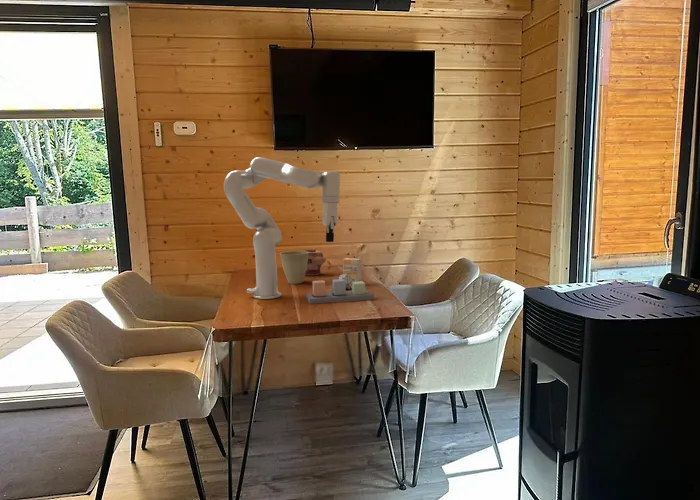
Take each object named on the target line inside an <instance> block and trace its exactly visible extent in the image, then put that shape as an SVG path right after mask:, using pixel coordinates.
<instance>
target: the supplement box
mask: <svg viewBox="0 0 700 500" xmlns="http://www.w3.org/2000/svg"><path fill="white" fill-rule="evenodd" d="M342 259H343V260H342V267H343V268H342V269H343V270H342V272H343V273H342V274H349V275H350V276H351V277H352V278H353V282H358V281H362V277H361V275H362V272H361V271H362V268H361V267H362V258H351V257H346V258H342ZM354 279H355V280H354Z"/></svg>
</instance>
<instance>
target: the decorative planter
mask: <svg viewBox="0 0 700 500" xmlns="http://www.w3.org/2000/svg"><path fill="white" fill-rule="evenodd" d="M304 251H307V252H309V254H308V263H307V268H306V273H305V276H318V275H320V274H321V267H322V265H323V264H324V263H326V260H327V259H326V257H325V256H324V255H323V252H322V251H320V250H316V249H314V250H313V249H312V250H311V249H305V250H304Z"/></svg>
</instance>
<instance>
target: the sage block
mask: <svg viewBox="0 0 700 500" xmlns="http://www.w3.org/2000/svg"><path fill="white" fill-rule="evenodd" d="M351 288H352V289H351V291H352V294H353V295H359V294H365V290H366V283H365V282H364V281H363V280H361V281H358V282H352V286H351Z"/></svg>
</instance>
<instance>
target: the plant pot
mask: <svg viewBox="0 0 700 500" xmlns="http://www.w3.org/2000/svg"><path fill="white" fill-rule="evenodd" d="M308 254H309V252H307V251H305V250H291V251H290V250H289V251H288V250H287V251H282V252H280V253H279V256H280V260H281V265H282V268H283V272H284V274H285V278H286V279H287V280H286V281H287V282H288V284H290V285H298V284H302V283H303V282H304V279H305V276H306V275H305V273H306V268H307V263H308Z"/></svg>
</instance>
